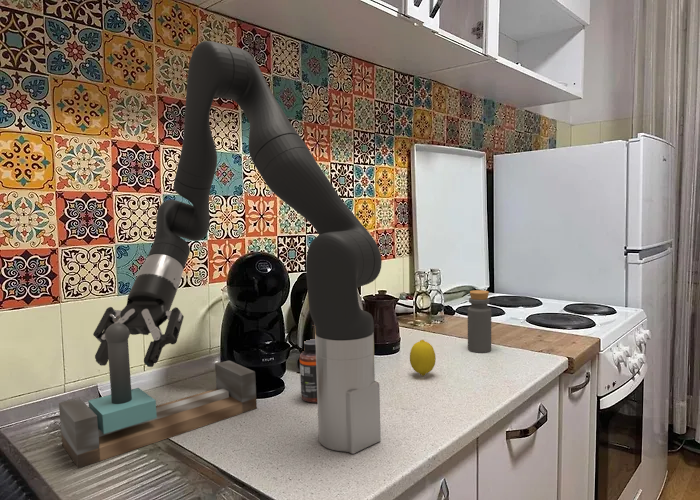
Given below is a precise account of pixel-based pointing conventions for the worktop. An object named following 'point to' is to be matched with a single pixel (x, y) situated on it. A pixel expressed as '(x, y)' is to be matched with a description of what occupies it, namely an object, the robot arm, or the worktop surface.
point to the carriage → (121, 388)
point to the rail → (172, 417)
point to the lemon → (422, 357)
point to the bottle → (479, 322)
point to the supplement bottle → (308, 371)
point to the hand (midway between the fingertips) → (124, 364)
